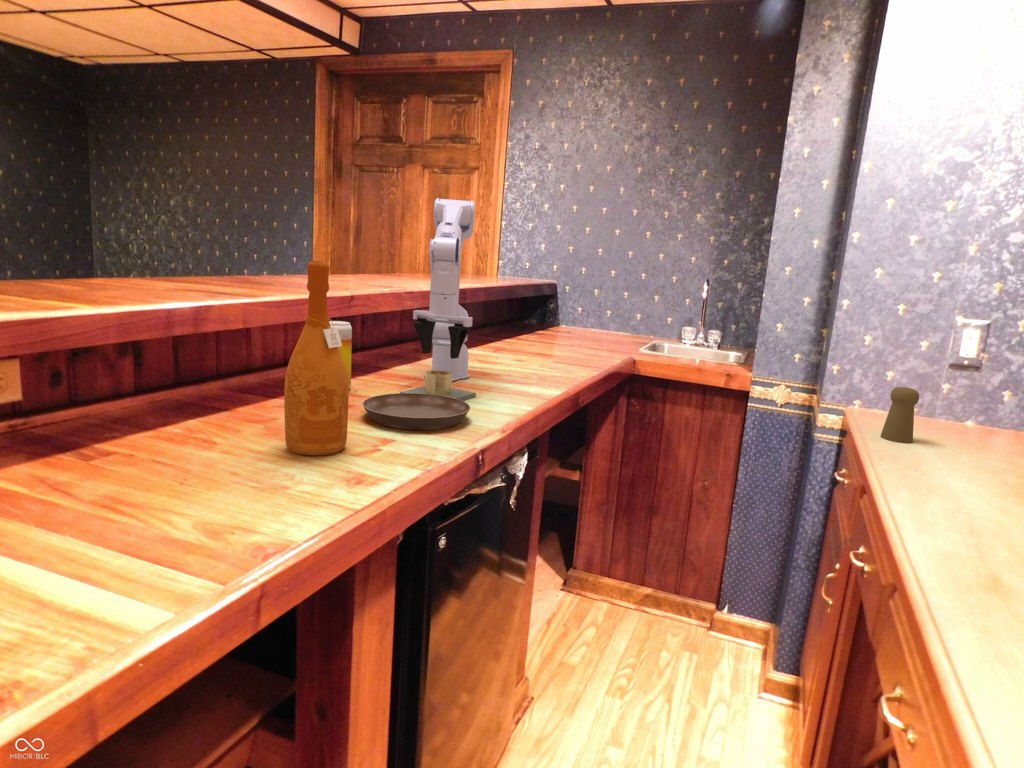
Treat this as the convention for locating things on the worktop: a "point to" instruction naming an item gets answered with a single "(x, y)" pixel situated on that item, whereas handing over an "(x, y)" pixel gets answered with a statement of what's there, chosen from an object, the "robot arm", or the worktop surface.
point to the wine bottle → (316, 378)
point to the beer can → (345, 343)
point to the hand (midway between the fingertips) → (440, 355)
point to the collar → (438, 382)
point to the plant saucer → (416, 410)
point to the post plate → (455, 394)
